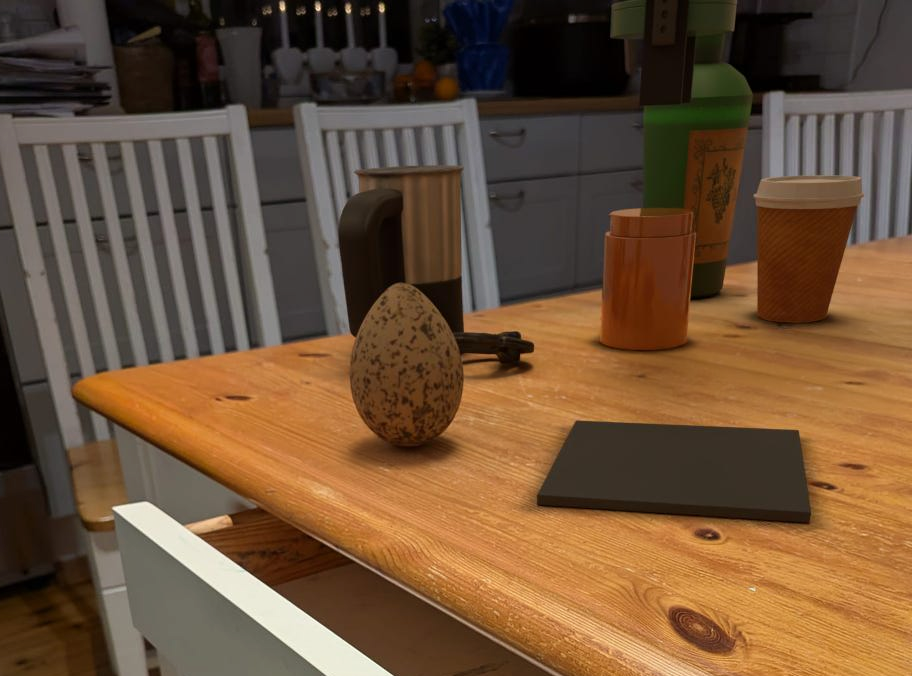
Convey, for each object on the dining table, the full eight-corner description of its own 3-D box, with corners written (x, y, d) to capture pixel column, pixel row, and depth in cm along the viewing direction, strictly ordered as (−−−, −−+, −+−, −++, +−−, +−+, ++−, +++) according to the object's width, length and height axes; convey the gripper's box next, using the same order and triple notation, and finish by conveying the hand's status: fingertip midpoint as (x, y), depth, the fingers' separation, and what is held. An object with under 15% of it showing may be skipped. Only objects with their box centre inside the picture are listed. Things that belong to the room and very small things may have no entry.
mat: (797, 439, 60) (799, 429, 60) (809, 523, 48) (811, 512, 48) (575, 428, 64) (575, 420, 63) (536, 505, 52) (536, 494, 52)
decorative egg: (456, 463, 58) (451, 292, 54) (343, 461, 60) (328, 294, 55) (472, 428, 65) (469, 272, 60) (369, 427, 66) (358, 274, 61)
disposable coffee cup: (864, 322, 89) (889, 179, 83) (767, 329, 88) (786, 185, 82) (812, 304, 97) (832, 173, 91) (723, 310, 96) (737, 178, 90)
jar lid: (585, 38, 66) (586, 5, 65) (653, 39, 71) (655, 9, 70) (690, 29, 61) (694, -7, 60) (756, 31, 66) (760, -2, 65)
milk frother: (380, 338, 91) (369, 164, 84) (546, 339, 88) (549, 158, 80) (337, 376, 79) (319, 177, 71) (528, 379, 76) (530, 170, 68)
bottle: (728, 303, 99) (763, -24, 86) (625, 301, 102) (642, -14, 89) (734, 285, 108) (767, -14, 94) (639, 284, 111) (657, -5, 97)
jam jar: (688, 332, 88) (699, 206, 83) (684, 351, 82) (696, 216, 76) (605, 331, 90) (611, 207, 85) (594, 349, 84) (600, 217, 78)
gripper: (653, -271, 66) (631, 104, 78) (610, -398, 49) (589, 108, 60) (766, -287, 64) (727, 100, 75) (764, -426, 47) (713, 104, 58)
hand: (666, 103), depth 68 cm, fingers closed on jar lid, 8 cm apart
